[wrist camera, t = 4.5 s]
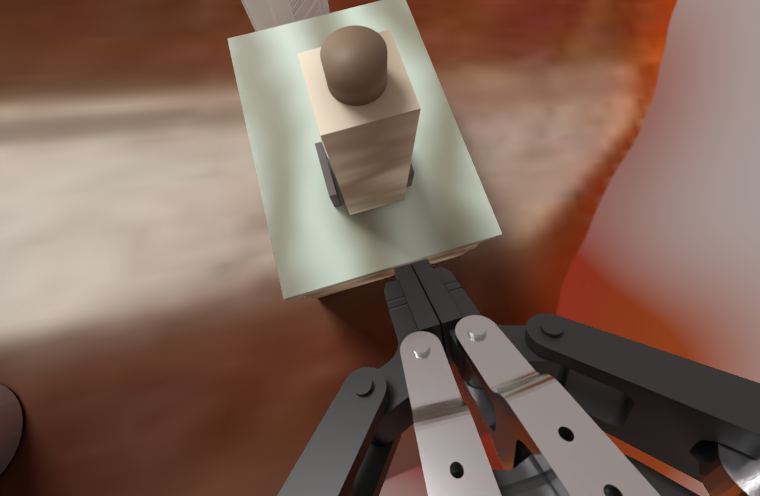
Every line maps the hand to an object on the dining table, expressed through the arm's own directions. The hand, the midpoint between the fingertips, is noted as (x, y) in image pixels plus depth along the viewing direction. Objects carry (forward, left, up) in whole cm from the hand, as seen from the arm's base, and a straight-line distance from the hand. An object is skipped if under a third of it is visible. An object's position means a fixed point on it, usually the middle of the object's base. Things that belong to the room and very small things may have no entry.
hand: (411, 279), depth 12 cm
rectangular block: (0, +13, -15) cm, 20 cm away
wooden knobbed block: (0, +8, -6) cm, 10 cm away
